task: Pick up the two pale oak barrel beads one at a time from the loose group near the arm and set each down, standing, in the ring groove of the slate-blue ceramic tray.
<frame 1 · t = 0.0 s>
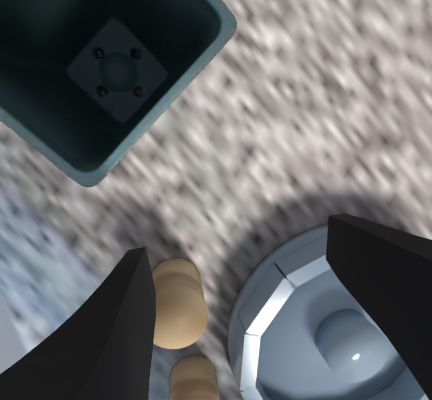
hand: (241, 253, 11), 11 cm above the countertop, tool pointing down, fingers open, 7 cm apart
flower pot: (118, 74, 18), on the countertop
bead a: (192, 375, 24), on the countertop
bead b: (175, 281, 22), on the countertop
ring tray: (335, 326, 25), on the countertop
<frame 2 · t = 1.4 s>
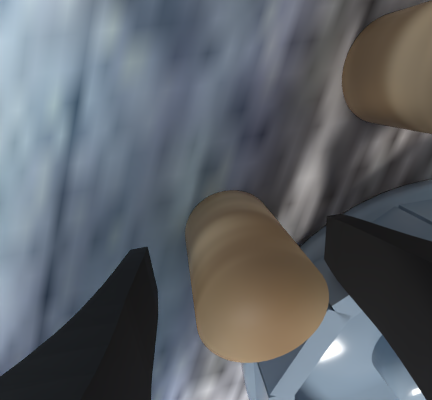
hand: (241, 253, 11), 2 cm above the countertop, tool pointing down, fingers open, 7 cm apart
bead a: (229, 231, 13), on the countertop
bead b: (388, 71, 11), on the countertop
ring tray: (398, 331, 17), on the countertop
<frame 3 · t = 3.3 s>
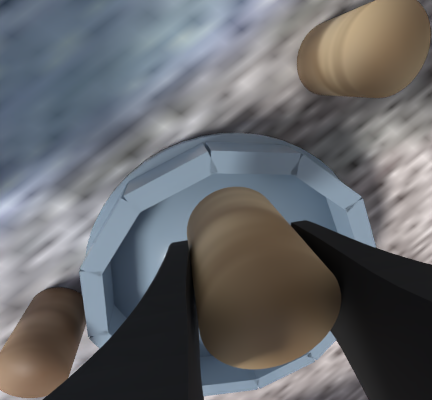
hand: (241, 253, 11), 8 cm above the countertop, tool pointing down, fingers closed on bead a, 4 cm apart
bead a: (232, 229, 12), point 7 cm above the countertop, touching gripper
bead b: (328, 59, 17), on the countertop
bead c: (60, 309, 20), on the countertop
ring tray: (228, 265, 21), on the countertop
when the fingers open (3 cm above the countertop, at t = 4.8 s): bead a stays where it is, resting on ring tray.
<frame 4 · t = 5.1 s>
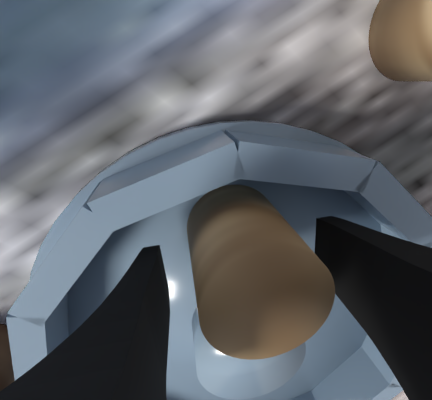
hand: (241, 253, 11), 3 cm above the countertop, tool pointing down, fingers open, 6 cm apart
bead a: (231, 226, 12), point 1 cm above the countertop, touching ring tray
bead b: (414, 28, 11), on the countertop
ring tray: (235, 304, 16), on the countertop
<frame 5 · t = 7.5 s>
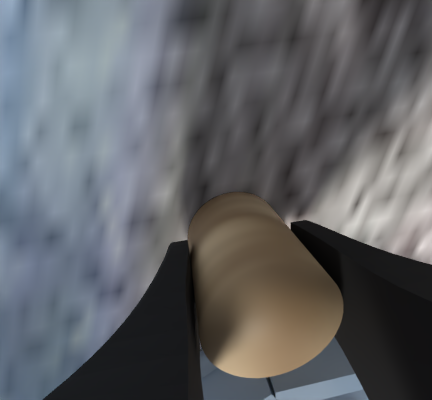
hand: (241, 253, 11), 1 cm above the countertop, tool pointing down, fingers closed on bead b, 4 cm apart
bead b: (234, 235, 12), on the countertop, touching gripper
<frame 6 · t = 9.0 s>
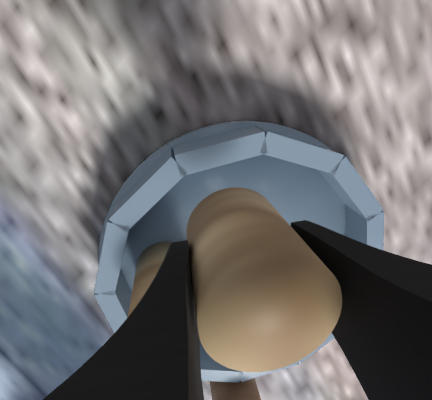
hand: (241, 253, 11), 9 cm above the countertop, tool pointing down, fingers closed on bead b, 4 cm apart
bead a: (165, 266, 20), point 1 cm above the countertop, touching ring tray
bead b: (232, 231, 12), point 7 cm above the countertop, touching gripper
bead c: (229, 367, 26), on the countertop
ring tray: (238, 253, 22), on the countertop
when the fingers open (3 cm above the countertop, at t = 10.7 s): bead b stays where it is, resting on ring tray.
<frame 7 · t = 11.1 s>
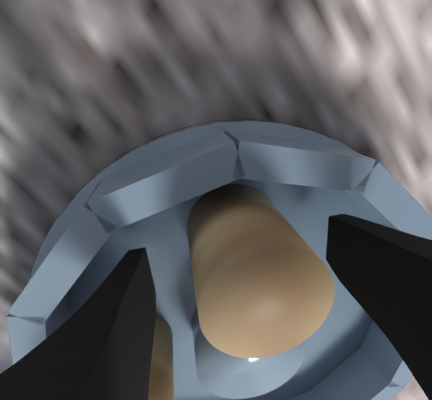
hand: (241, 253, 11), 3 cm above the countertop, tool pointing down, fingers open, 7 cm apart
bead a: (132, 339, 14), point 1 cm above the countertop, touching ring tray
bead b: (231, 225, 12), point 1 cm above the countertop, touching ring tray
ring tray: (235, 304, 16), on the countertop
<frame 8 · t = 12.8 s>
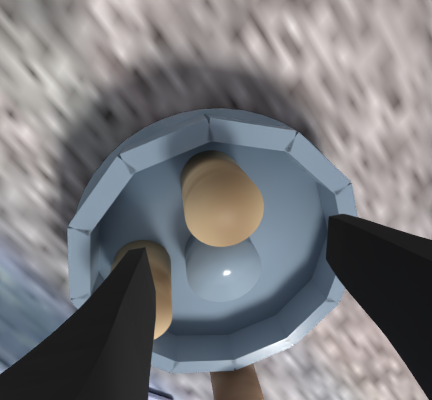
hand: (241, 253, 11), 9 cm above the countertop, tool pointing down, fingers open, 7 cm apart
bead a: (142, 264, 20), point 1 cm above the countertop, touching ring tray
bead b: (210, 180, 18), point 1 cm above the countertop, touching ring tray
bead c: (229, 357, 27), on the countertop
ring tray: (216, 244, 21), on the countertop
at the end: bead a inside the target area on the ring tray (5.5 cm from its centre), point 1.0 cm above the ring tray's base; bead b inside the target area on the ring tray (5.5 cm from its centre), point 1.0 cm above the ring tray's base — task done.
